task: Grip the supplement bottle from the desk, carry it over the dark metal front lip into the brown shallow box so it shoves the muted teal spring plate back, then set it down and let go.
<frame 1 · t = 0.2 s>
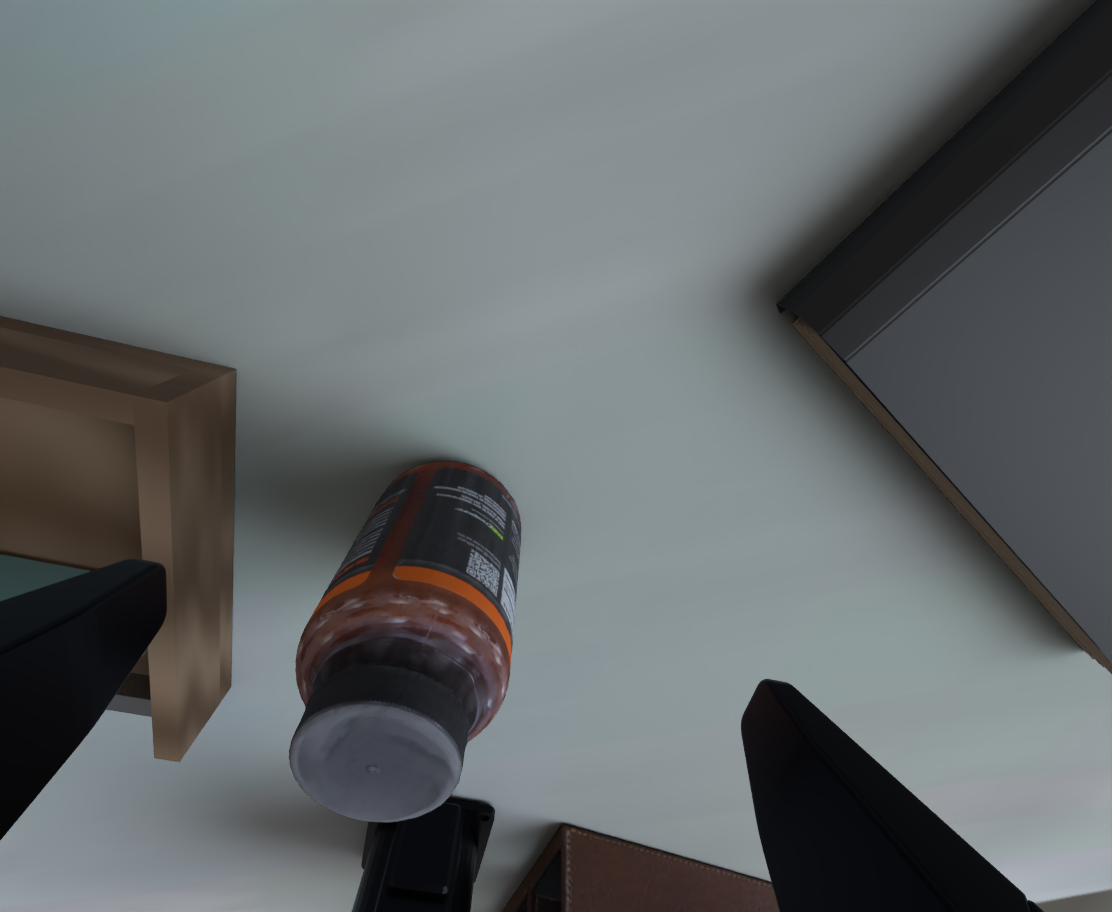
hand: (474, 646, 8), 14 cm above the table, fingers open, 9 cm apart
brown shallow box: (104, 523, 23), on the table
letter holder: (674, 903, 34), on the table
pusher: (19, 632, 20), point 4 cm above the table, slide at 0.0 cm
supplement bottle: (452, 518, 23), on the table
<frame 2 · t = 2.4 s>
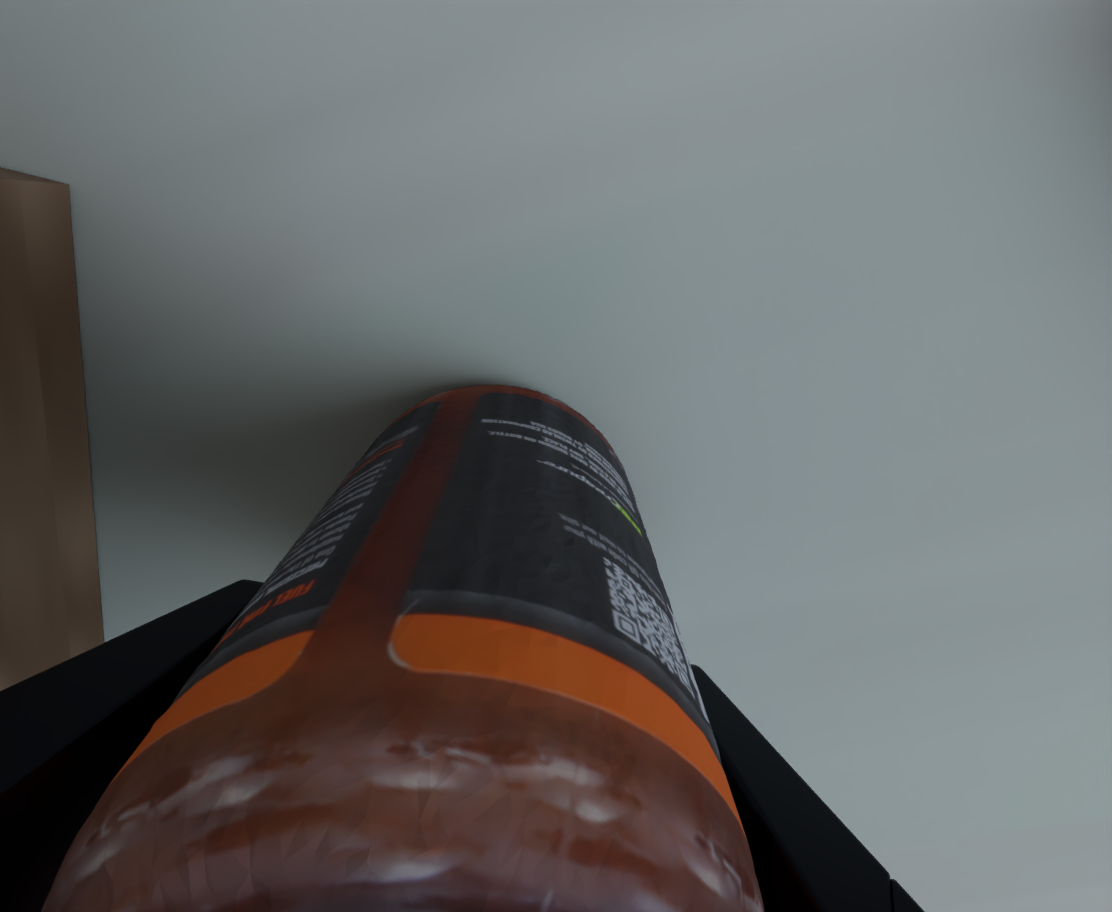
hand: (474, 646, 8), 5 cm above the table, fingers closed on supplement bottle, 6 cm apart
supplement bottle: (499, 501, 13), on the table, touching gripper
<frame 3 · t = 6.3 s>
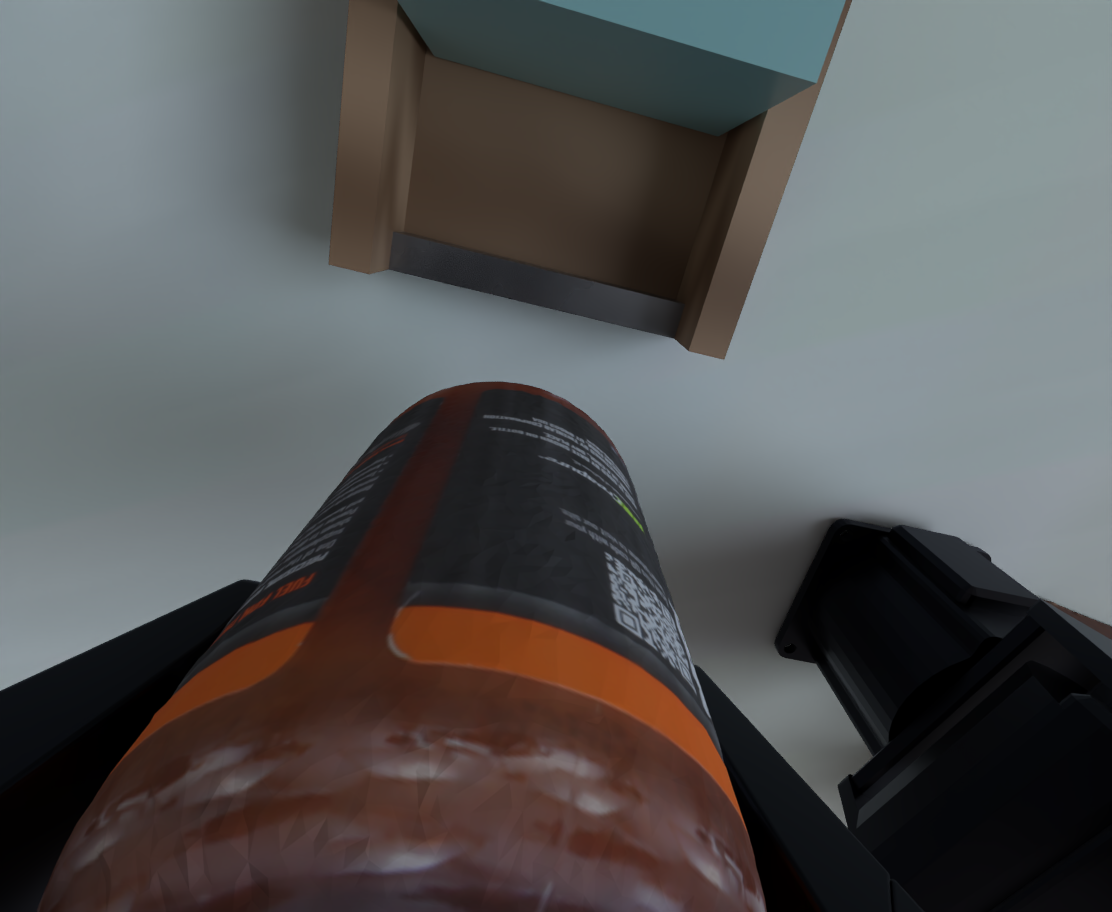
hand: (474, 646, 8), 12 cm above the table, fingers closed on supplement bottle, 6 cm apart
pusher: (594, 34, 12), point 4 cm above the table, slide at 0.0 cm
supplement bottle: (501, 498, 13), point 7 cm above the table, touching gripper
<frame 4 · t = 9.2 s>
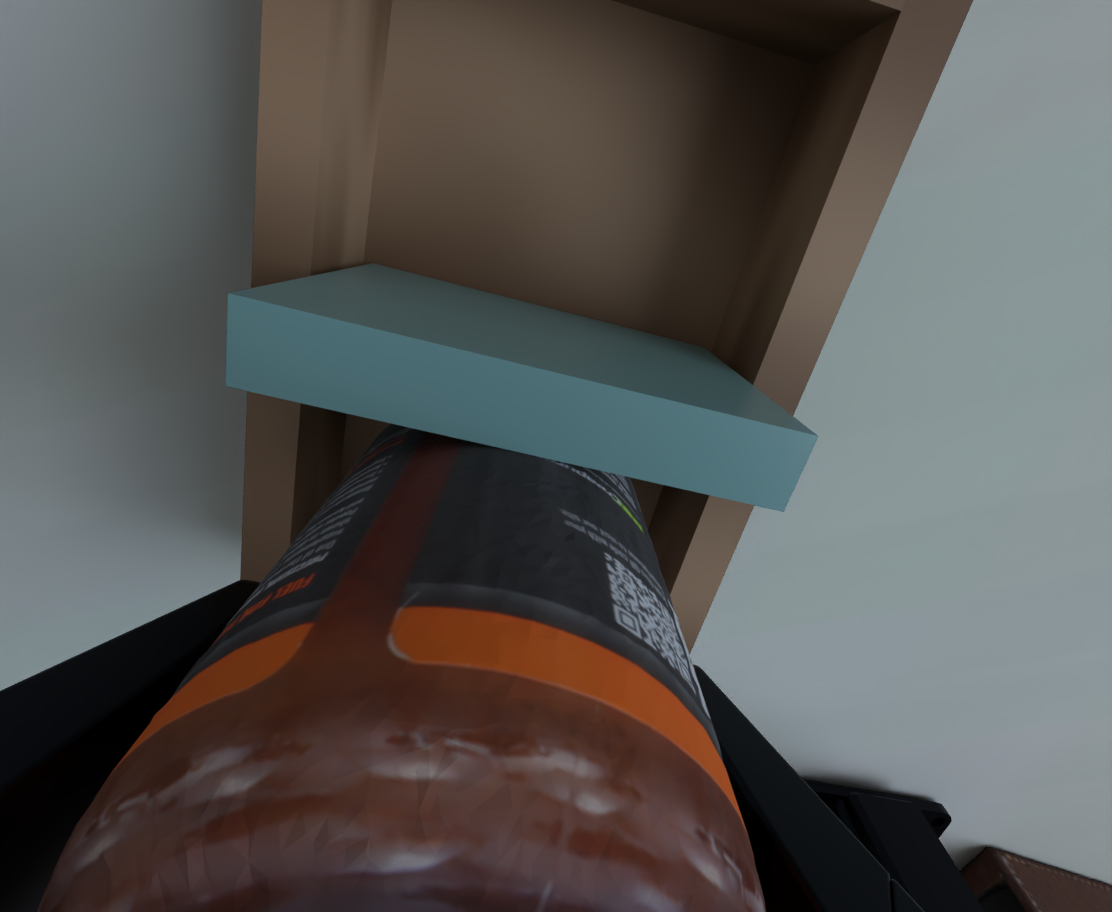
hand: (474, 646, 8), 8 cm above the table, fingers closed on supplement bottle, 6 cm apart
brown shallow box: (534, 341, 14), on the table
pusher: (534, 361, 10), point 4 cm above the table, slide at 2.5 cm
supplement bottle: (501, 498, 13), point 3 cm above the table, touching gripper
when the fingers open (7 cm above the table, at t = 10.3 s): supplement bottle drops 1 cm, resting on brown shallow box.
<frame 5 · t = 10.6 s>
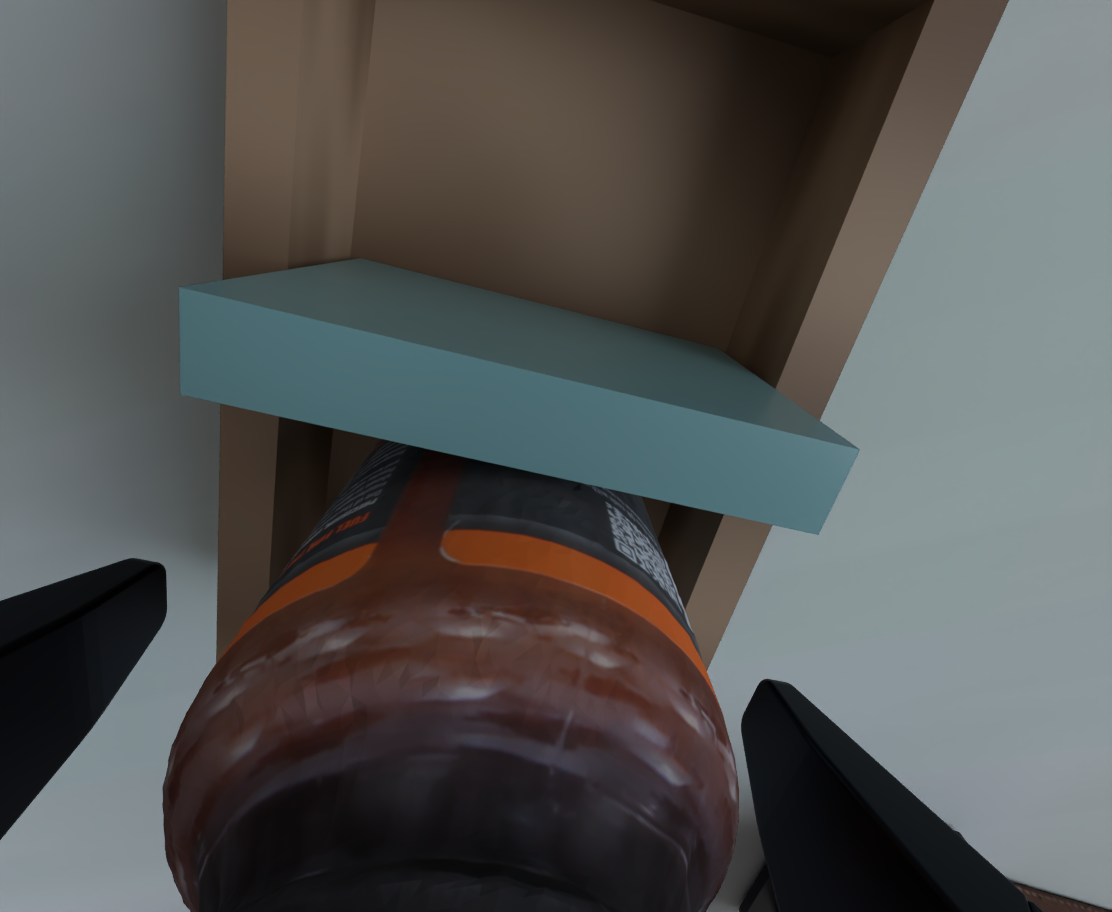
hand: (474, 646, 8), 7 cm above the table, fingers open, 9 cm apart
brown shallow box: (532, 354, 13), on the table
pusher: (535, 363, 9), point 4 cm above the table, slide at 2.8 cm
supplement bottle: (507, 477, 14), point 1 cm above the table, touching brown shallow box
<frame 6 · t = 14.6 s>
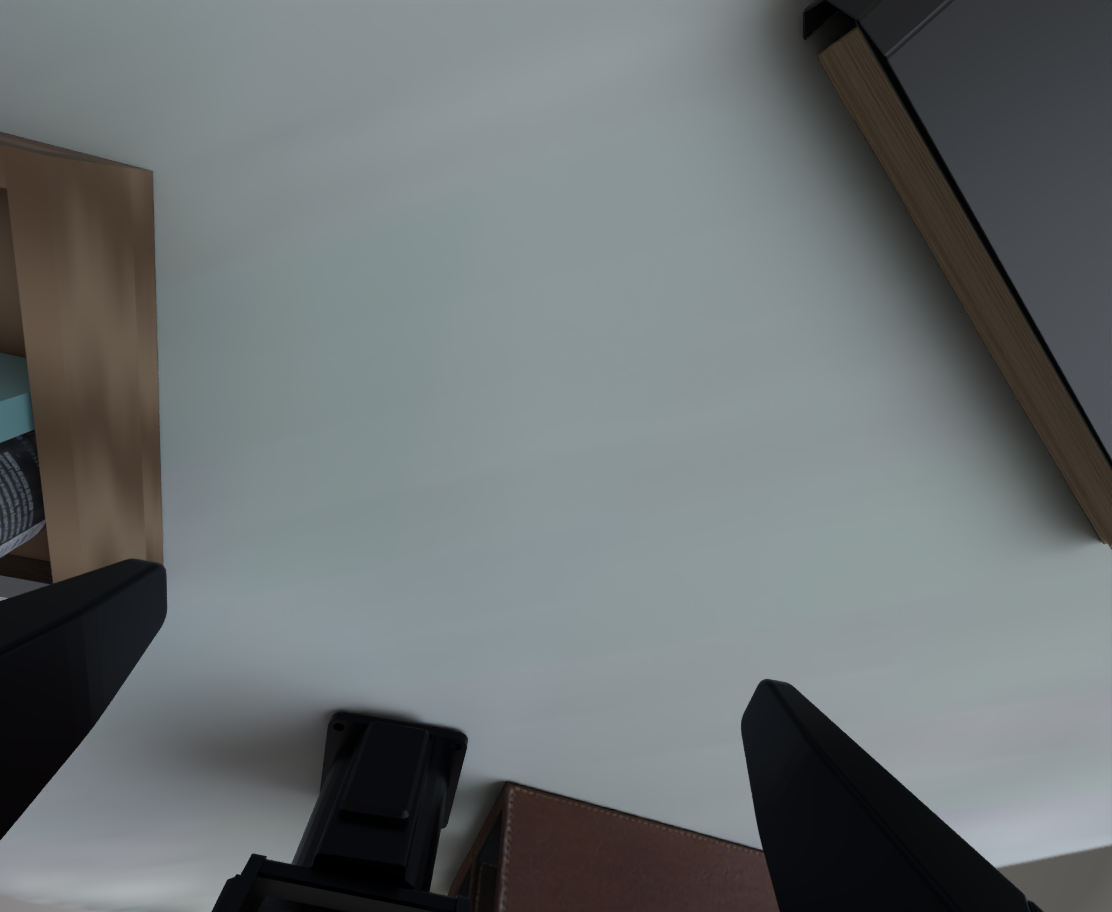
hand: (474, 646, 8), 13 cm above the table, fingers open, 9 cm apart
brown shallow box: (7, 375, 20), on the table
letter holder: (639, 873, 31), on the table
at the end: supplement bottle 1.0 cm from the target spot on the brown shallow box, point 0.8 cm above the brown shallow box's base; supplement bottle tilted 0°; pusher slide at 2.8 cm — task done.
